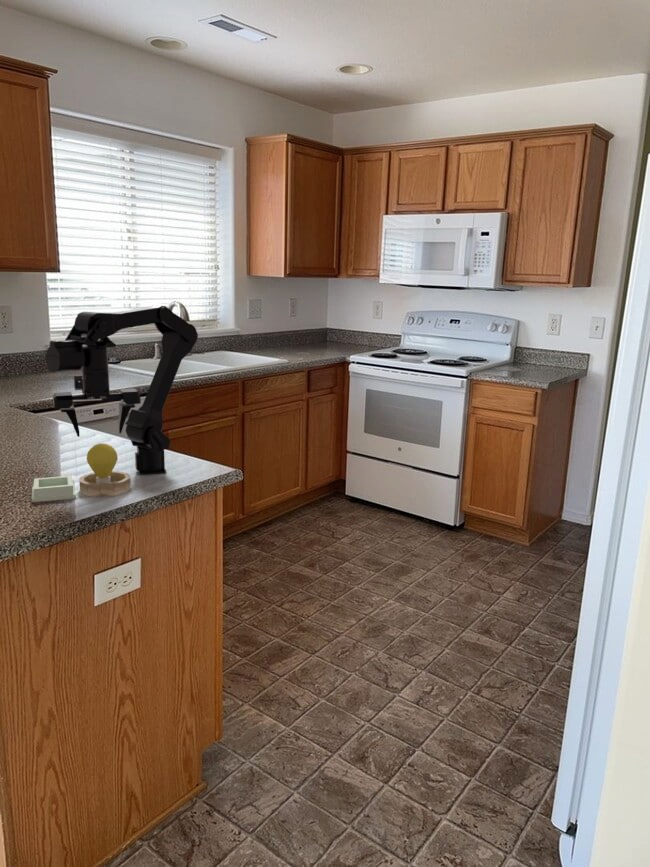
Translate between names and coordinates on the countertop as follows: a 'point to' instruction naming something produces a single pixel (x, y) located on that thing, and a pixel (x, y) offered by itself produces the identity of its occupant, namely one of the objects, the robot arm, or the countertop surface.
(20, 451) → the countertop surface
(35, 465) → the countertop surface
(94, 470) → the light bulb
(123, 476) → the round cradle
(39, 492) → the square socket
